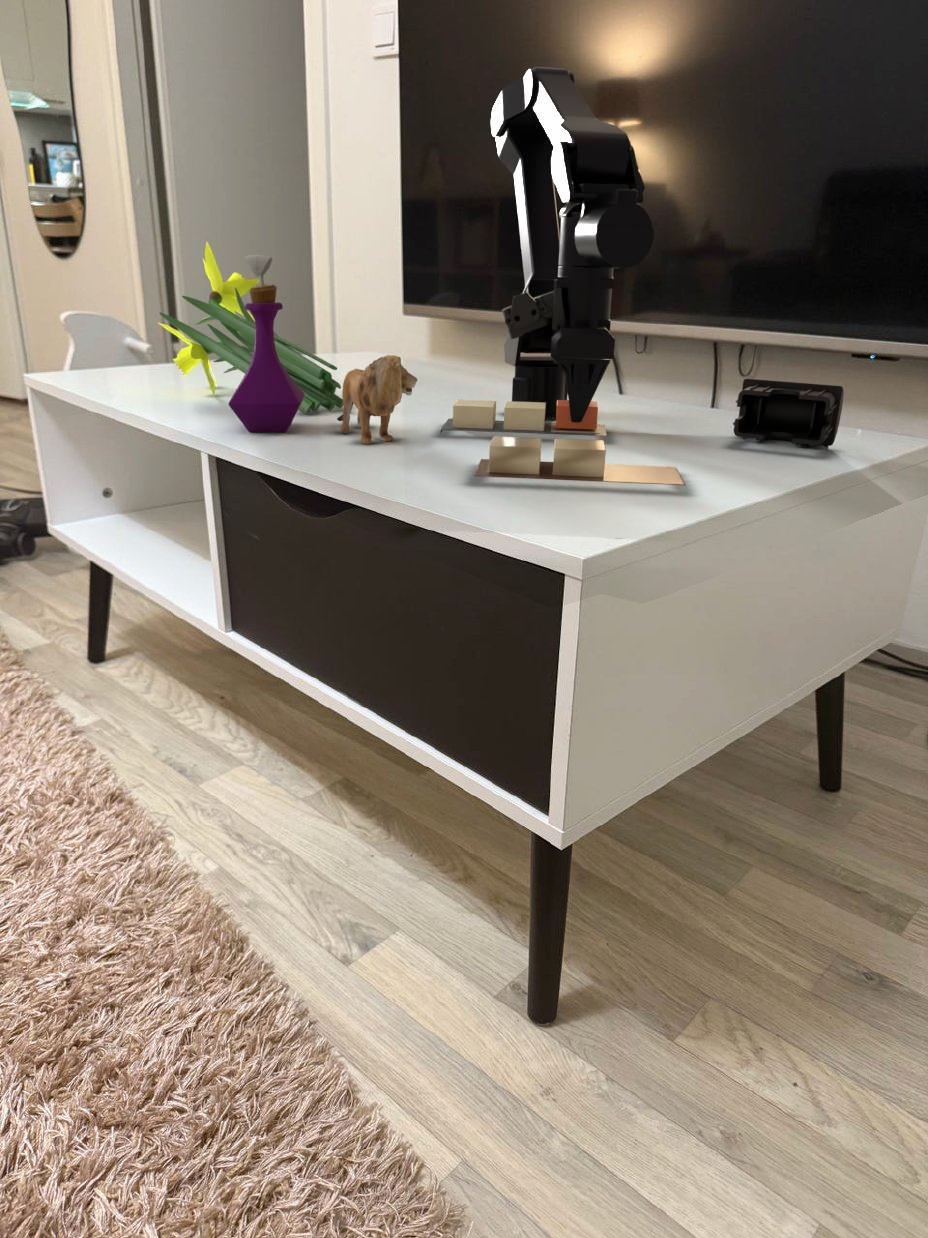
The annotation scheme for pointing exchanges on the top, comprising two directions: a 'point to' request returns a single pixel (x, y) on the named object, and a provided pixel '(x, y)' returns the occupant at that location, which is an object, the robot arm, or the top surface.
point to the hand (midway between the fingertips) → (576, 418)
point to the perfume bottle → (265, 366)
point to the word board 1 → (509, 419)
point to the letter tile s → (565, 422)
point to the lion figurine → (375, 394)
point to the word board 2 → (566, 463)
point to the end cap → (789, 411)
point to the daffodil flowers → (247, 341)
